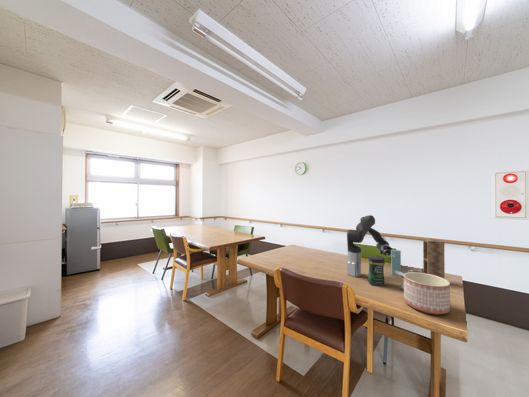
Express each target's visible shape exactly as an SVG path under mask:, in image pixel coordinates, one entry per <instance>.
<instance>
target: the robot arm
mask: <svg viewBox="0 0 529 397" xmlns="http://www.w3.org/2000/svg"><path fill="white" fill-rule="evenodd" d="M359 221H360V222H359V223H358V224H357V225H356V227H355V229H348V230H347V232H346V242H347V243H346V244H347V262H346V263H347V264H346V266H347V268H346V270H347V271H346V272H347V273H346V274H347V275H348V276H351V277H361V276H362V249H361V247H360V246H358V245H356V244H361V243H363V241H364V239H365V237H366V235H367V234H368V233H369V235H371V237H372V238H373V240H374V241H375V243H376V246H375V247H376V248H377V249H378V251H379V254H380V255H384V256H391V250H394V249H393V248H392V247H391V246H390V243H389V241H387V240H386V239H384V237H382V235H381V233H380V232H379V231H378V230H376V229H374V228H372V227H373V226H375V224H376V219H375V217H374V216H373V215H371V214H370V215H366V216H363V217H361V218H360V220H359Z"/></svg>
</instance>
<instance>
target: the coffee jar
mask: <svg viewBox="0 0 529 397" xmlns="http://www.w3.org/2000/svg"><path fill="white" fill-rule="evenodd" d="M367 262H368V264H369V265H368V276H367V282H368V283H369V285H372V286H381V287H383V286H385V282H386V281H385V272H384V266H385V257H384V256H381V255H369V256H368V260H367Z"/></svg>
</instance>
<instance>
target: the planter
mask: <svg viewBox="0 0 529 397" xmlns="http://www.w3.org/2000/svg"><path fill="white" fill-rule="evenodd" d="M408 272H409V271H408ZM403 283H404V289H403V300H404V302H405V303H406V304H408V305H409V306H410V307H411V308H413V309H414V310H416V311H419V312H422V313H424V314H429V315H434V316H436V315H437V316H438V315H444V314H445V315H446V314H448V313H450V311H451V283H450V281H449V280H448V279H446V278H445V279H444V278H441V277H438V276H435V275H431V274H426V273H418V272H409V273H405V274H404V278H403Z"/></svg>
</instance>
